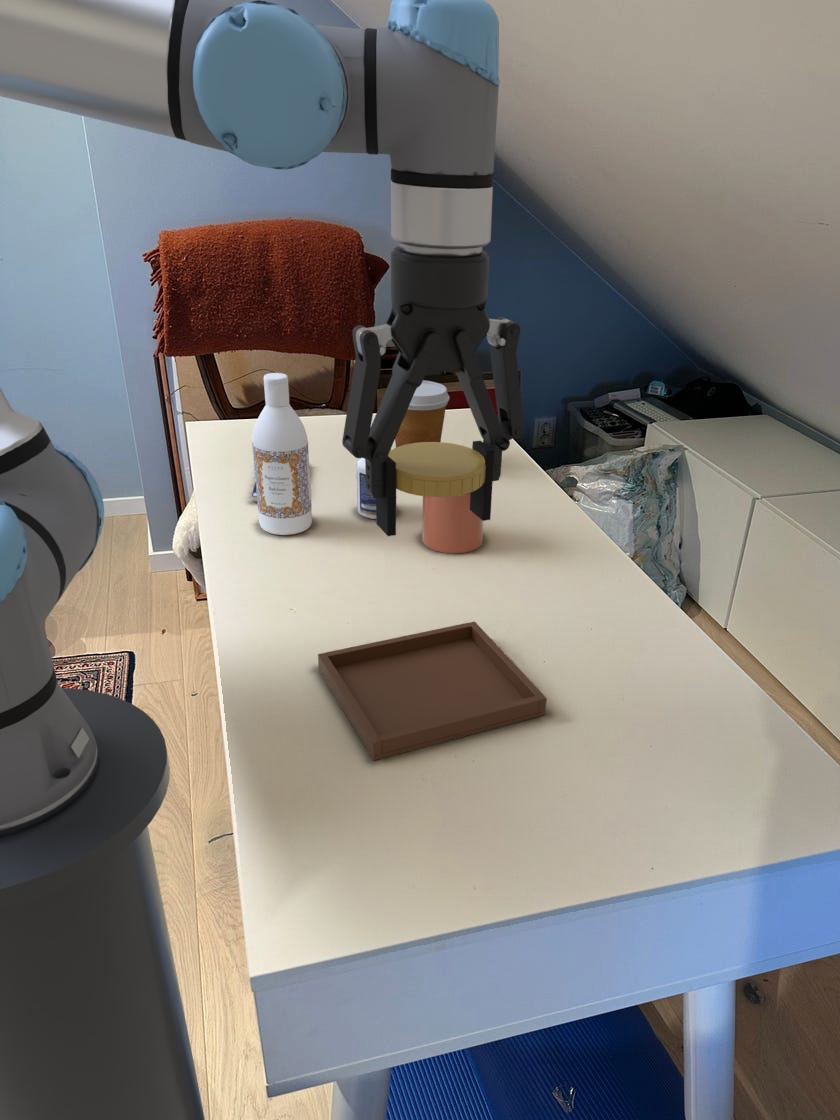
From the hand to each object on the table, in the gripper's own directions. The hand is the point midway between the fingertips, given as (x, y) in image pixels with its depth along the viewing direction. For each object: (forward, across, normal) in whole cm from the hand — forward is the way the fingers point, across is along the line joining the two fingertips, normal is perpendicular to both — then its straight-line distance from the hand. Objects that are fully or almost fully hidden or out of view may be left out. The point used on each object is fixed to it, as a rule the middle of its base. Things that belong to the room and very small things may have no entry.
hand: (434, 521), depth 79 cm
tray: (+18, 0, +1) cm, 18 cm away
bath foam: (+18, +2, -42) cm, 46 cm away
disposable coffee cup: (+18, -24, -58) cm, 66 cm away
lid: (-5, 0, 0) cm, 5 cm away
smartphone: (+18, -1, -57) cm, 60 cm away
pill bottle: (+18, -11, -42) cm, 47 cm away
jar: (+18, -17, -30) cm, 39 cm away
